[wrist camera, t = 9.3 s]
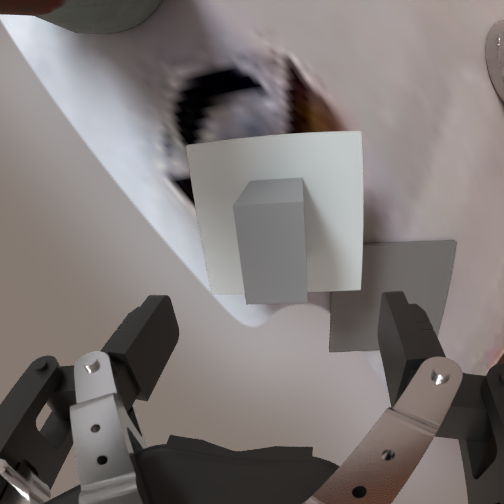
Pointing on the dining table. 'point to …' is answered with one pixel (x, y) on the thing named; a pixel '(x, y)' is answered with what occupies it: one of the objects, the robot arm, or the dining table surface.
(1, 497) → the robot arm
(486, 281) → the dining table surface
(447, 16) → the dining table surface
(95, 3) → the bottle
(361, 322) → the mat
